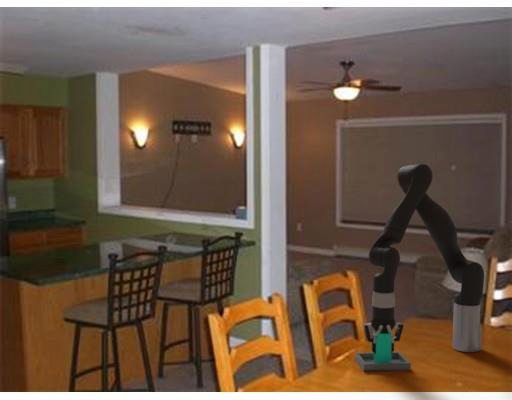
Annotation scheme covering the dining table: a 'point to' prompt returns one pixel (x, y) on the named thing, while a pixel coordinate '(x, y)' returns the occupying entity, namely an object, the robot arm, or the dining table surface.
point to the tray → (370, 365)
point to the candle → (383, 348)
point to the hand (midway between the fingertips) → (382, 352)
